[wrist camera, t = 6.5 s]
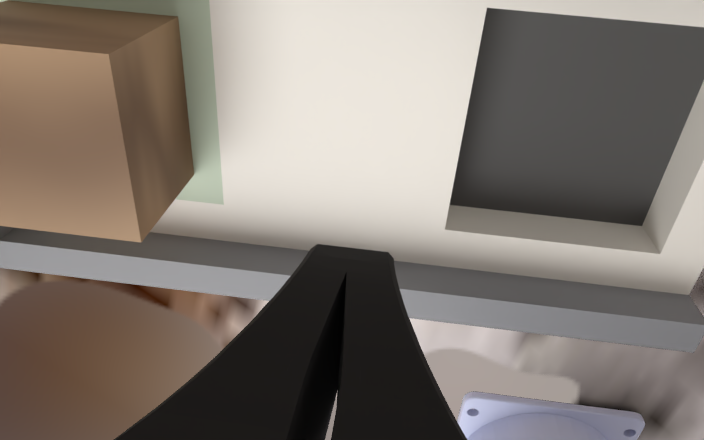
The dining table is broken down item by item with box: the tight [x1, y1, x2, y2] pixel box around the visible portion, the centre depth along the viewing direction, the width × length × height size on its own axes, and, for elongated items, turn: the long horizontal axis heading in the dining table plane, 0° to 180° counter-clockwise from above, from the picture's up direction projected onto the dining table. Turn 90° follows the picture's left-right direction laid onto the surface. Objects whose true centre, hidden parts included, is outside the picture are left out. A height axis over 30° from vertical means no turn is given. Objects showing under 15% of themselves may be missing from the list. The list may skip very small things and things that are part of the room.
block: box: [0, 0, 194, 242], centre depth 15 cm, size 5×5×4 cm
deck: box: [0, 0, 704, 353], centre depth 16 cm, size 14×24×4 cm, turn 86°
